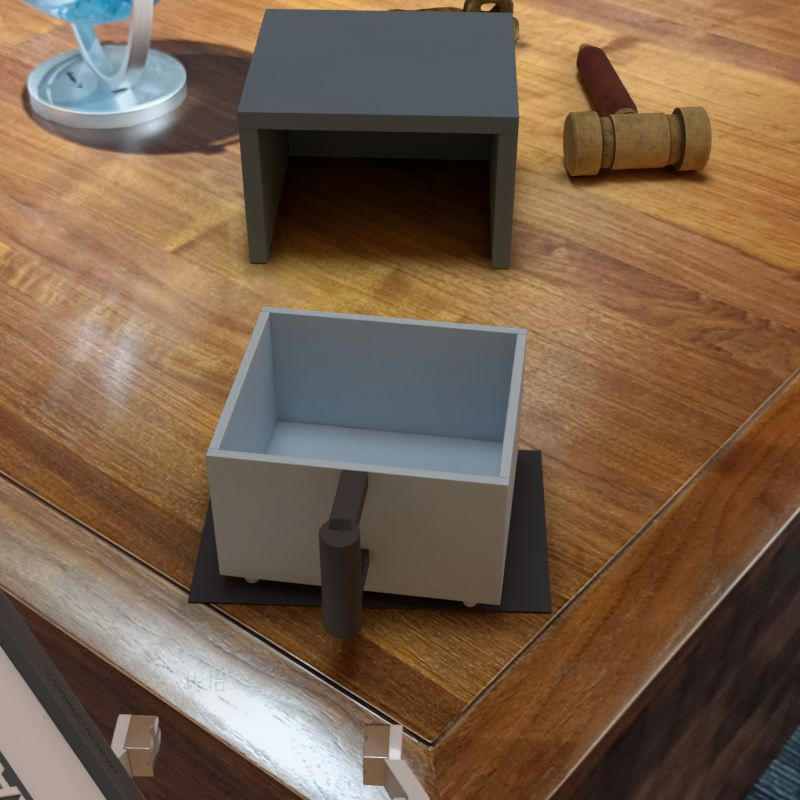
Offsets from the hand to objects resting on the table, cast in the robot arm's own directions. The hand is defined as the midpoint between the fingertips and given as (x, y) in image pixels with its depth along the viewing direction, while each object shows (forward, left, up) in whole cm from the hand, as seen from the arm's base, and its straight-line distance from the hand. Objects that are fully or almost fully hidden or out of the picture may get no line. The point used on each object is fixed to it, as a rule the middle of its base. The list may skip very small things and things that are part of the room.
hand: (262, 728), depth 52 cm
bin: (+3, +17, -7) cm, 19 cm away
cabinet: (+2, +51, -7) cm, 52 cm away
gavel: (+19, +65, -8) cm, 68 cm away
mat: (+3, +19, -7) cm, 21 cm away
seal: (+5, +78, -8) cm, 79 cm away
